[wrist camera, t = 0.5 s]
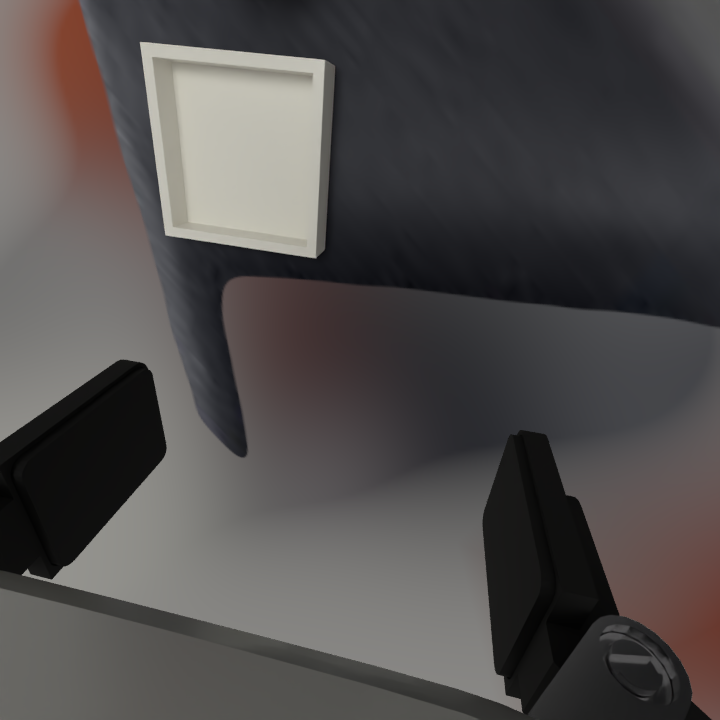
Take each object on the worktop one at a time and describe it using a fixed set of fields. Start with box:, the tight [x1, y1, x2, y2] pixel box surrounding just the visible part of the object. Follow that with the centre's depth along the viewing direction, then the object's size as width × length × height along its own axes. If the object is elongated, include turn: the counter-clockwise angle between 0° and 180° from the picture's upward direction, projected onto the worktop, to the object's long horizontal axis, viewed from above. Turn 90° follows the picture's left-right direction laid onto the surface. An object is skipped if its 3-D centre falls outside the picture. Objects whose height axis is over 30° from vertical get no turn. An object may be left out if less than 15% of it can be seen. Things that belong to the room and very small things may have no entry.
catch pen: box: [140, 42, 335, 258], centre depth 33 cm, size 14×14×3 cm
